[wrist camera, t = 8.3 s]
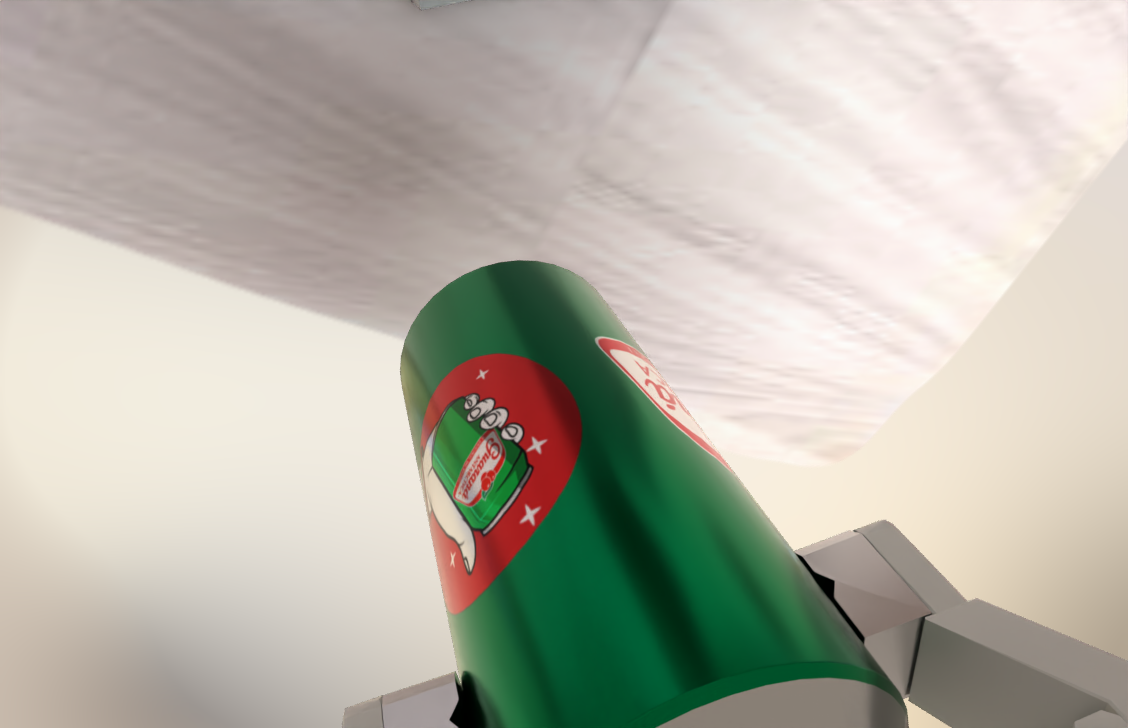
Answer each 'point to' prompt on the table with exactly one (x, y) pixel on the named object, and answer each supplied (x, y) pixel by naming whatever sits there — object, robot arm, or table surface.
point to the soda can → (606, 532)
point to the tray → (434, 3)
